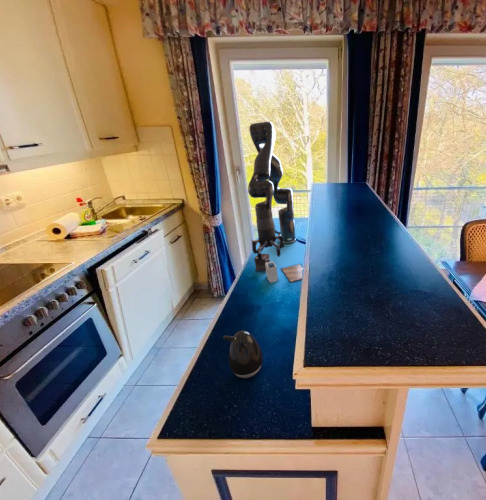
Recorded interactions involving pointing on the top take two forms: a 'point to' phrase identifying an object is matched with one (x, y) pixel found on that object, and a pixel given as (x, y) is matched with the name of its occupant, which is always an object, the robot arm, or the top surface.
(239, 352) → the pump dispenser
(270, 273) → the white and blue block
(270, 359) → the top surface
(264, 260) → the box
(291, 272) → the wooden board
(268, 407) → the top surface
